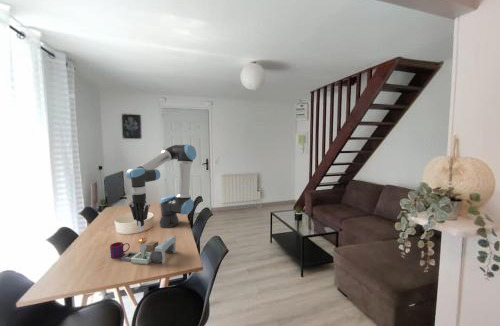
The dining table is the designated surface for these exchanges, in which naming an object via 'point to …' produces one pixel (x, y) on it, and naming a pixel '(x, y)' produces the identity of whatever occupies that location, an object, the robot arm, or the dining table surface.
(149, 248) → the chock
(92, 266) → the dining table surface
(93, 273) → the dining table surface
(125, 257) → the pin socket
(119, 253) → the mug
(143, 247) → the stop pin
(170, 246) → the grey angle bracket
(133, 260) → the tray
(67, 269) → the dining table surface
